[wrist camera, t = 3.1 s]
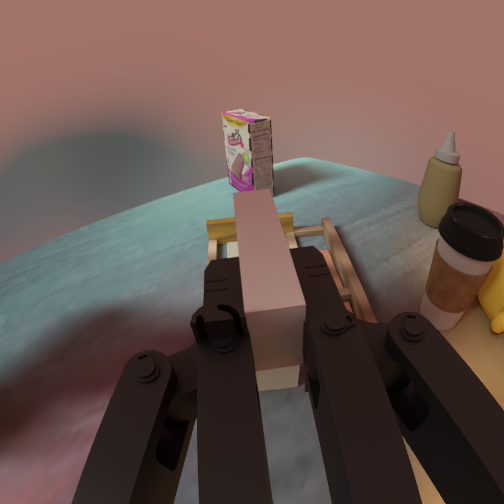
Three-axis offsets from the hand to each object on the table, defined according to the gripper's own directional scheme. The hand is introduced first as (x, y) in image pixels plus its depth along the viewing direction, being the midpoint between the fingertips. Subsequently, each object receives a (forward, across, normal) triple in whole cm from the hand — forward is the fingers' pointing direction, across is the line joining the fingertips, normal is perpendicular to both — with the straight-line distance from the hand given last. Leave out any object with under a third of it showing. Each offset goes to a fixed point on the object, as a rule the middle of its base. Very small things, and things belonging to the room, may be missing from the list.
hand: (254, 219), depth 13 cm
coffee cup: (+10, +23, -23) cm, 34 cm away
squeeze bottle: (+31, +35, -23) cm, 52 cm away
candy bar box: (+48, +2, -22) cm, 53 cm away
